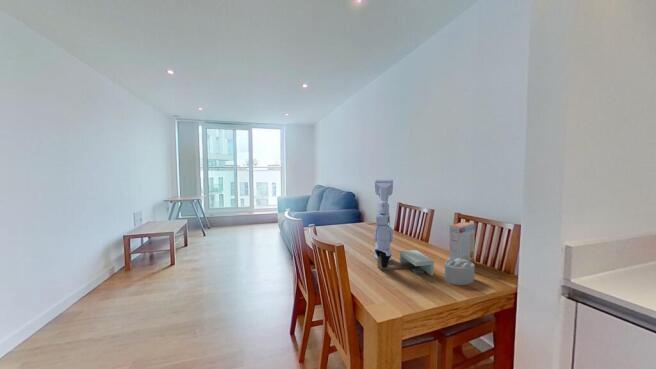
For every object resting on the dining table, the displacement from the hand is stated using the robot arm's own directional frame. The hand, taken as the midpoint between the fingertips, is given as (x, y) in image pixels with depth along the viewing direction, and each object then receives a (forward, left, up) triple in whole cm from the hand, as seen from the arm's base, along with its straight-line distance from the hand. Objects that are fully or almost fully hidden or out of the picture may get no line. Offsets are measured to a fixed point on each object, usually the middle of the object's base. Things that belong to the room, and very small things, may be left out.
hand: (382, 265), depth 129 cm
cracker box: (+1, +43, -2) cm, 43 cm away
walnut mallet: (0, +8, -2) cm, 8 cm away
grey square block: (+7, +15, -2) cm, 17 cm away
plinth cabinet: (+4, +16, -2) cm, 16 cm away
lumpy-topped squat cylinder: (+18, +28, -2) cm, 34 cm away
